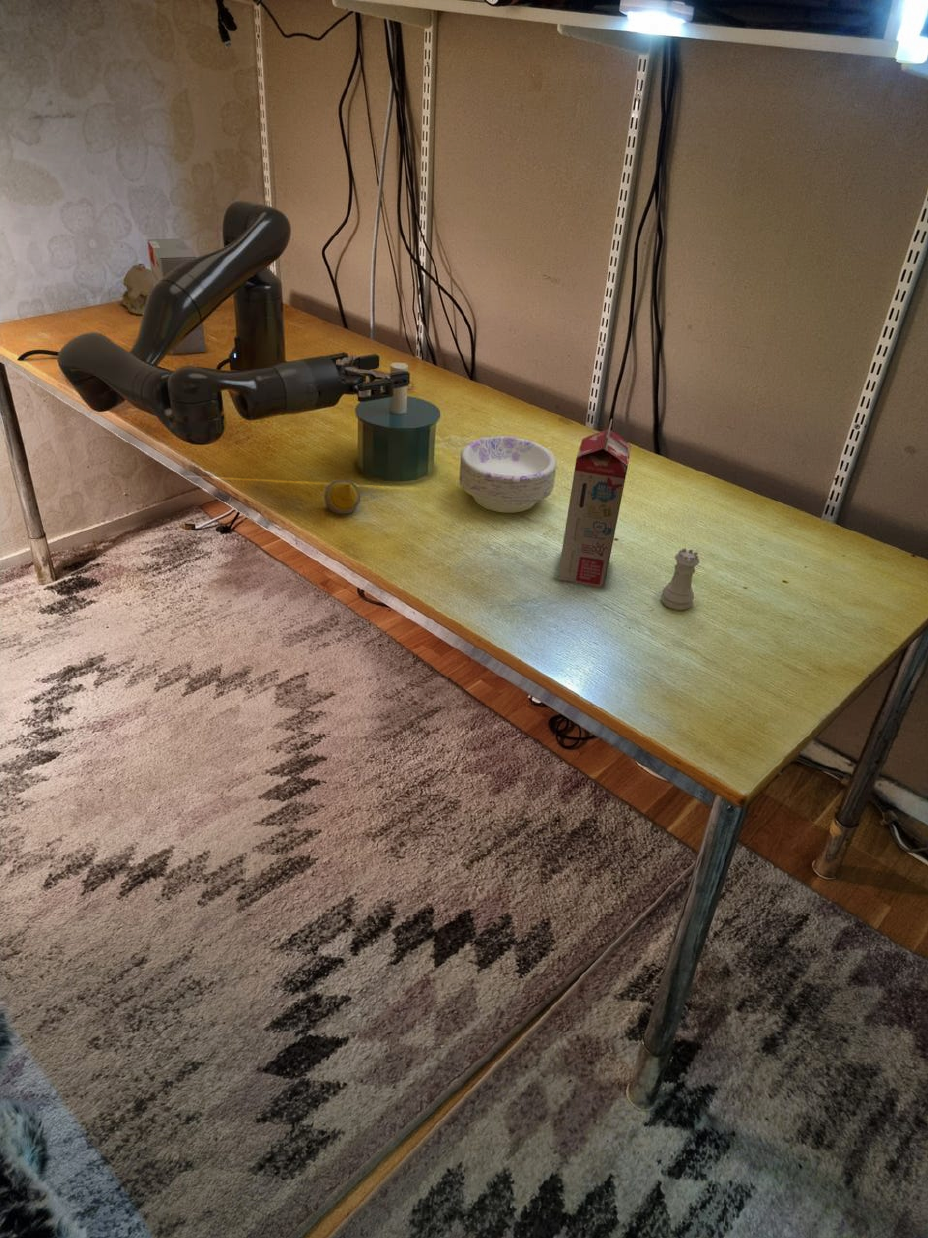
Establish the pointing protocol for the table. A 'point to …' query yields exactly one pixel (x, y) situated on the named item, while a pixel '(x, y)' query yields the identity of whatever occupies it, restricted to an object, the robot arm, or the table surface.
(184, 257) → the hard drive box
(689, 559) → the rook chess piece
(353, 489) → the drill bit
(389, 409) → the lid
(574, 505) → the juice carton
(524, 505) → the paper bowls
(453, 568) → the table surface
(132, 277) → the ceramic model
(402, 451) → the pot
